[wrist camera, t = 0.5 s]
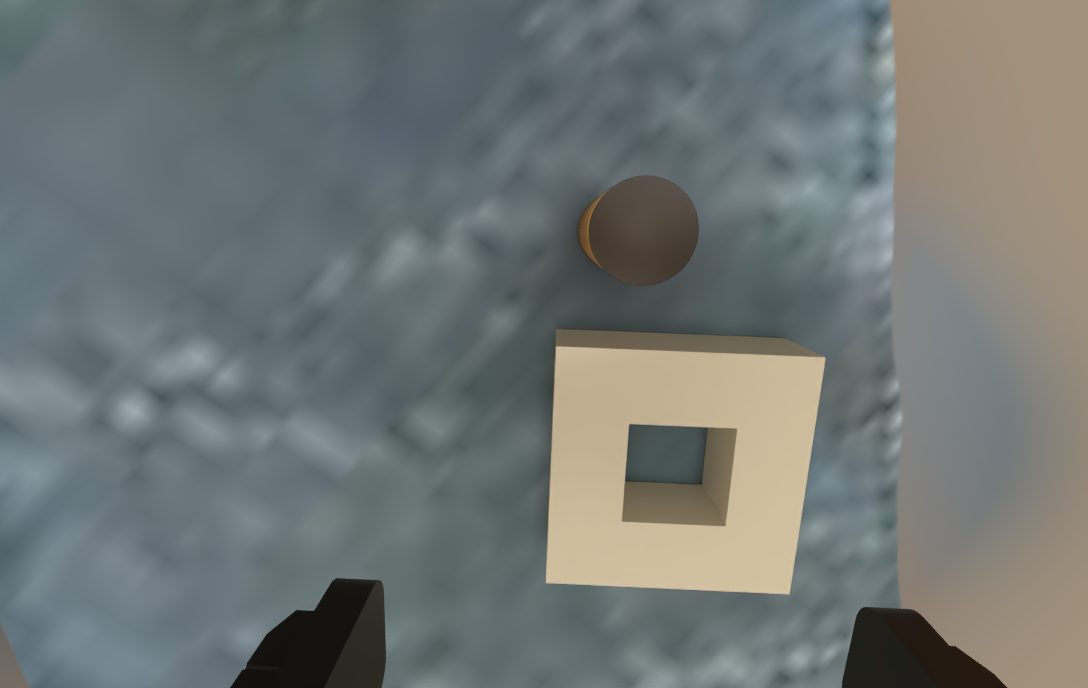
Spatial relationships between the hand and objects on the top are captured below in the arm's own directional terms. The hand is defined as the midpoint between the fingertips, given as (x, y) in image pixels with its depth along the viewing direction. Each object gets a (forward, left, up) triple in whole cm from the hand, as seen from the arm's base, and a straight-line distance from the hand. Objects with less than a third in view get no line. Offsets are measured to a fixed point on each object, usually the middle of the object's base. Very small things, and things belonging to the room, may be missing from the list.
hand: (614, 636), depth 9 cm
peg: (-7, +2, -24) cm, 25 cm away
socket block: (+6, +6, -24) cm, 26 cm away
